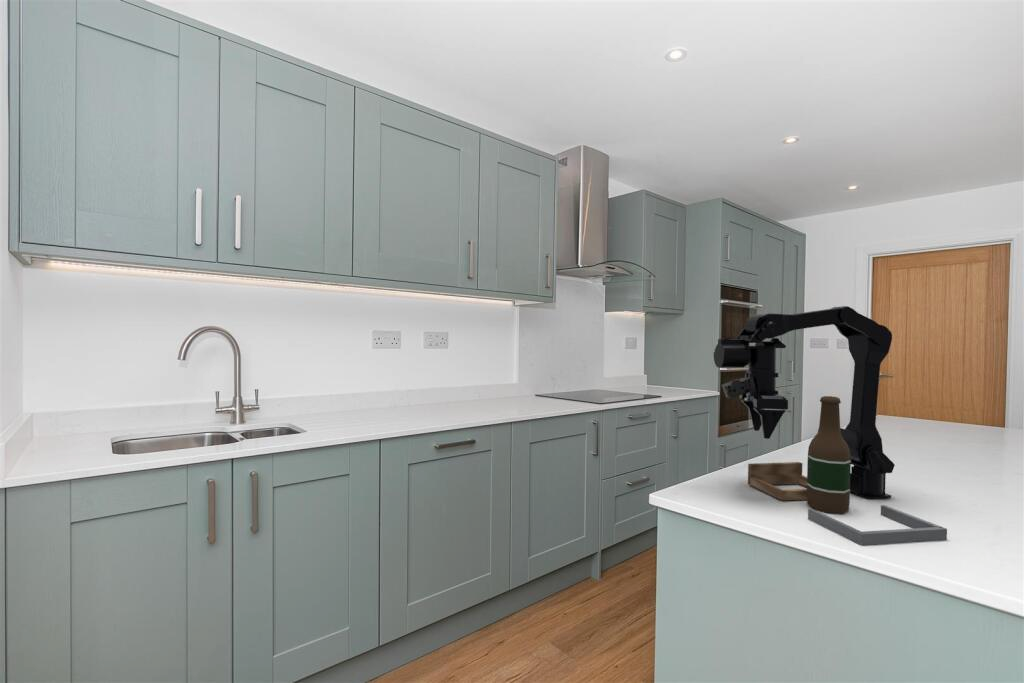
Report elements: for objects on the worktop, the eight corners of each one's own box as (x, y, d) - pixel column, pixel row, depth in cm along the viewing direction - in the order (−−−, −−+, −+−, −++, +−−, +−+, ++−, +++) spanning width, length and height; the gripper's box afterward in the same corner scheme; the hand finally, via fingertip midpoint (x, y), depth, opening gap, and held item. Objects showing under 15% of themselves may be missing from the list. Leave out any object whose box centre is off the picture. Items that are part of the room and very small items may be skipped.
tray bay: (884, 514, 103) (885, 505, 103) (946, 539, 90) (947, 528, 90) (807, 518, 100) (808, 509, 100) (861, 545, 88) (861, 534, 87)
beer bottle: (850, 517, 101) (853, 400, 100) (806, 509, 105) (808, 397, 105) (848, 506, 107) (851, 396, 107) (806, 499, 112) (809, 393, 111)
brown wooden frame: (798, 481, 124) (798, 462, 124) (837, 497, 112) (837, 475, 112) (747, 483, 122) (748, 463, 122) (782, 500, 110) (782, 477, 110)
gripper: (718, 364, 126) (717, 425, 126) (732, 370, 108) (732, 441, 108) (765, 365, 124) (765, 427, 124) (789, 370, 105) (788, 443, 106)
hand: (761, 434), depth 116 cm, fingers open, 9 cm apart
